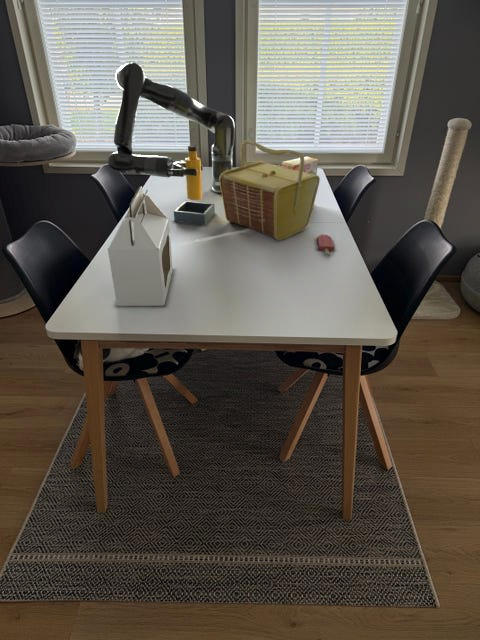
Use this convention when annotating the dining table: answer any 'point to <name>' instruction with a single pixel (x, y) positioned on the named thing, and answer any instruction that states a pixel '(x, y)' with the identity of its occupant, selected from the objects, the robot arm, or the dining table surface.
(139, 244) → the gable box
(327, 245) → the popsicle
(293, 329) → the dining table surface
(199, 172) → the bottle
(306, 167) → the coffeecake box
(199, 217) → the tub
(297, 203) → the picnic basket
